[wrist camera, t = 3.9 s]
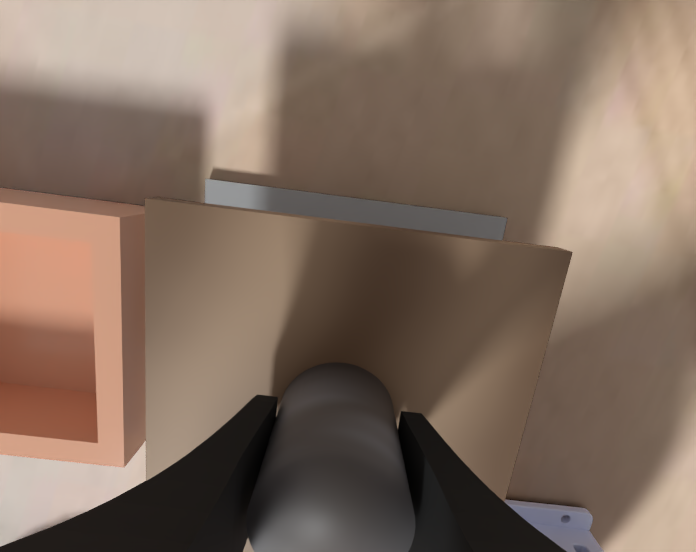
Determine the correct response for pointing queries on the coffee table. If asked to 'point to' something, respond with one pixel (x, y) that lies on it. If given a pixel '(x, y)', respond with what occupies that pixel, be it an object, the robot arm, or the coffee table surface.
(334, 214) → the rubber mat
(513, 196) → the coffee table surface
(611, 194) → the coffee table surface
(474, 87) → the coffee table surface
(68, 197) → the peach square box
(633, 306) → the coffee table surface
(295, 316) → the walnut lid
